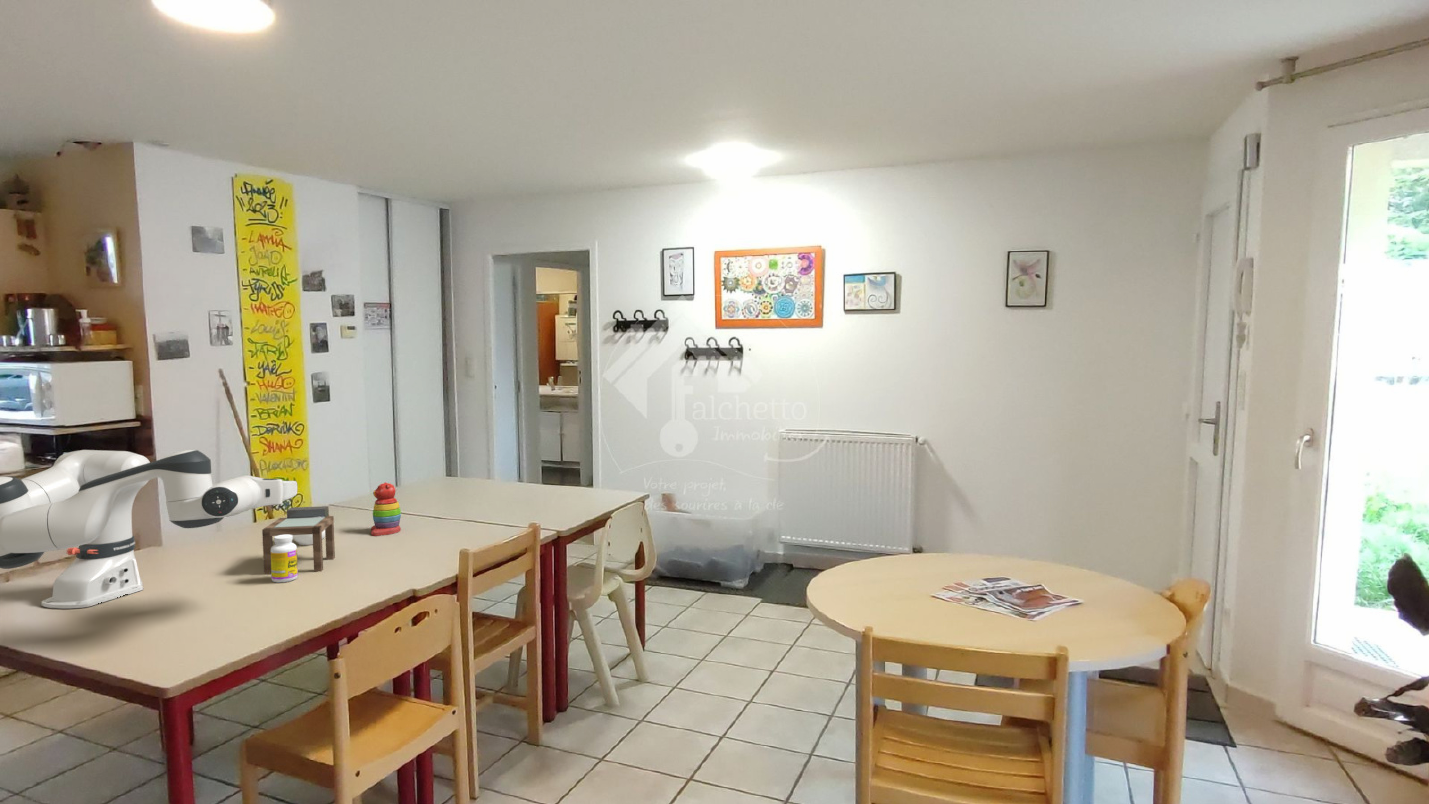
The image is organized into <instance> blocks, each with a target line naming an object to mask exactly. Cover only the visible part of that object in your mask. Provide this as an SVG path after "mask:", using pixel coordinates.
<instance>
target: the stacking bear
mask: <svg viewBox="0 0 1429 804" xmlns="http://www.w3.org/2000/svg"><path fill="white" fill-rule="evenodd" d="M396 491H397V490H396V487H395V485H393V484H392V483H389V482H386V481H385V482H383V483H380V484H379V485H377V487H376V489H375V490H374V491H373V493H372V494H373V496H374V498H376V500H375V501H374V505H373V510H372V519H373V524H374V525H373V526H371V528H370V531H371V532H370V535H371V536H372V537H380V536H381V535H382V536H387V535H393V534H397V533H400V532H401V531H402V529H401V525H400V522H401V516H402V511H401V507H400V503H399V501H398V500H397V499H396V498H395V497H396ZM382 536H381V537H382Z"/></svg>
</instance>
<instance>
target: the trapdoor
mask: <svg viewBox="0 0 1429 804" xmlns="http://www.w3.org/2000/svg"><path fill="white" fill-rule="evenodd" d="M329 509H330V508H329V506H327V505H326V506H302V507H301V506H300V507H299V506H298V507H289V508H288V509H287V510H286V517H285V518H286V519H285V520H284V521H282V522H281V523H279V524H278V525H277V526H275V527H274V528H279V527H303V526H315V525H316V524H318V523H319V522H320V521H321V520H323V519H324V518H325V517H326V516H329V515H330V513H329V511H330V510H329Z"/></svg>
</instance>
